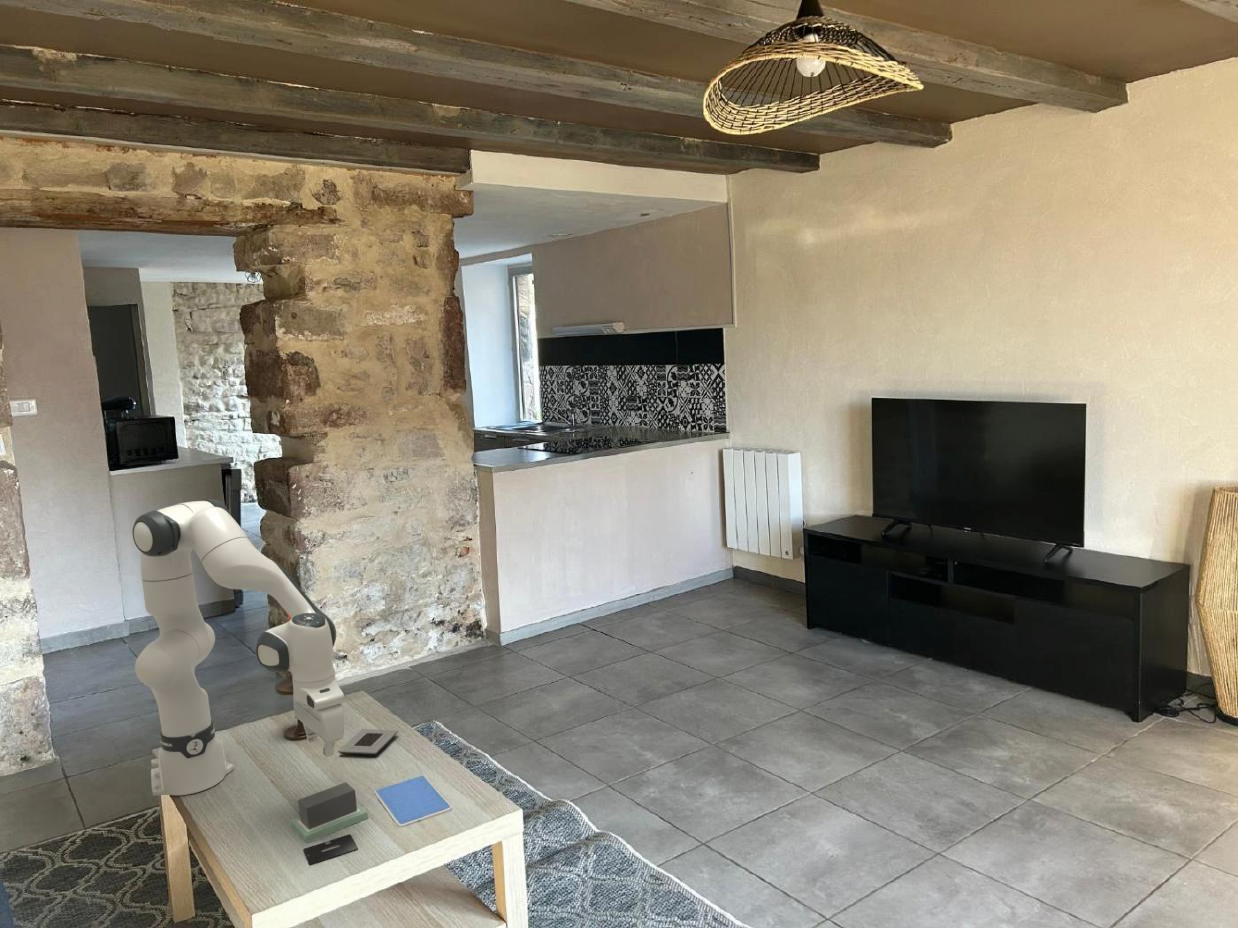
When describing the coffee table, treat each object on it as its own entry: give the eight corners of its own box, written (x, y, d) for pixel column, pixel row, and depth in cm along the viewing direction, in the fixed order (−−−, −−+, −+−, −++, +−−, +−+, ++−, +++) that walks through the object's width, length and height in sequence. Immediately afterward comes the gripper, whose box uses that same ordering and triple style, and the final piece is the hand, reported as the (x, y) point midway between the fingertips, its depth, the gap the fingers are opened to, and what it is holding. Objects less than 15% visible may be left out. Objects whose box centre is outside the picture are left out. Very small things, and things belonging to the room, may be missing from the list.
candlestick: (294, 724, 254) (280, 604, 249) (329, 725, 252) (316, 605, 247) (272, 741, 244) (258, 617, 239) (308, 742, 241) (294, 617, 237)
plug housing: (300, 820, 198) (298, 799, 197) (348, 802, 205) (345, 781, 204) (308, 829, 194) (306, 808, 194) (357, 810, 201) (355, 789, 201)
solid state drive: (303, 851, 189) (302, 848, 189) (350, 836, 194) (350, 833, 194) (309, 867, 183) (309, 864, 183) (358, 851, 188) (358, 848, 188)
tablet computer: (453, 812, 202) (453, 806, 202) (399, 830, 196) (398, 825, 196) (424, 778, 219) (424, 773, 218) (373, 795, 212) (372, 789, 212)
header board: (291, 826, 199) (289, 809, 198) (351, 803, 208) (349, 787, 207) (306, 842, 192) (304, 825, 191) (367, 817, 201) (366, 801, 200)
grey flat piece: (376, 760, 230) (375, 751, 230) (338, 758, 232) (337, 749, 232) (398, 737, 243) (398, 729, 242) (363, 736, 245) (362, 727, 244)
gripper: (283, 679, 201) (289, 737, 203) (318, 705, 186) (323, 768, 188) (311, 671, 205) (316, 728, 207) (347, 696, 190) (352, 758, 192)
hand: (320, 747), depth 197 cm, fingers open, 8 cm apart
